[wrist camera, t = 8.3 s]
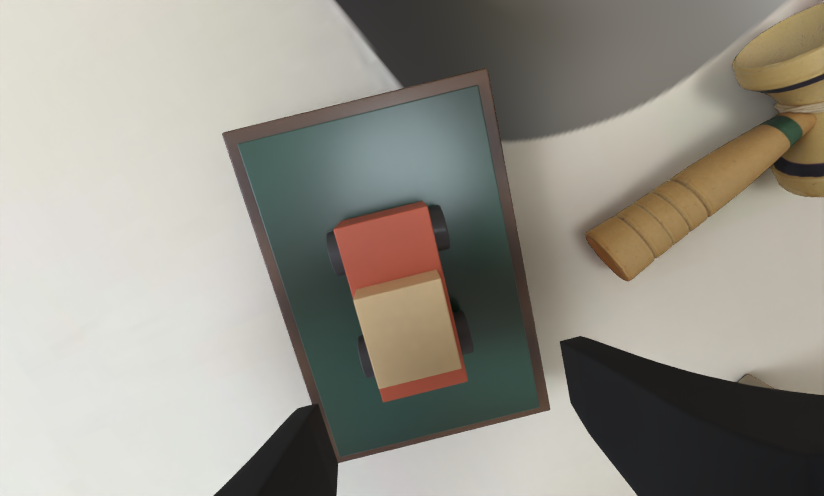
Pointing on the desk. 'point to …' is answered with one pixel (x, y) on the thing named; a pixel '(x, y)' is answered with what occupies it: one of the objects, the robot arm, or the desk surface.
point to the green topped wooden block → (462, 263)
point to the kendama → (736, 149)
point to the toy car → (402, 299)
